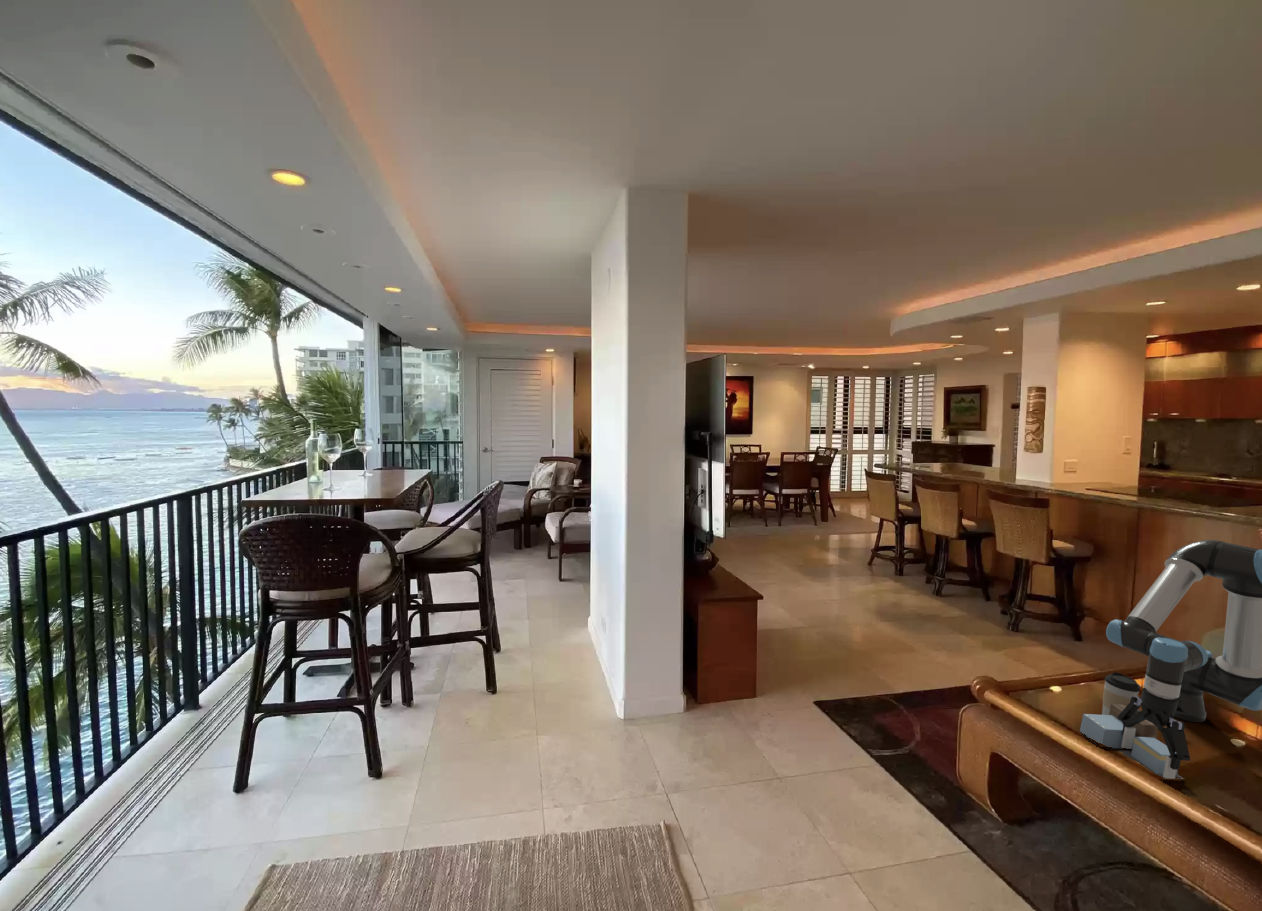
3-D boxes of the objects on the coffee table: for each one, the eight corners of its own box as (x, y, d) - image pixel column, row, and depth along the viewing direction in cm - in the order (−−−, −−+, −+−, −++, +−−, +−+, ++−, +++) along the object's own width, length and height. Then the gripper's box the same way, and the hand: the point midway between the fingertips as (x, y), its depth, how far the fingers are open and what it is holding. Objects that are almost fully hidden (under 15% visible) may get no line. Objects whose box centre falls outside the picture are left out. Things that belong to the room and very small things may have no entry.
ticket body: (1122, 733, 181) (1125, 715, 181) (1145, 749, 173) (1149, 731, 173) (1079, 731, 181) (1083, 713, 180) (1101, 747, 173) (1104, 729, 172)
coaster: (1145, 753, 171) (1145, 751, 171) (1184, 781, 160) (1184, 779, 159) (1106, 751, 171) (1107, 749, 171) (1143, 779, 159) (1144, 777, 159)
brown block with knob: (1120, 730, 183) (1127, 700, 182) (1152, 753, 172) (1159, 720, 171) (1105, 729, 183) (1112, 699, 181) (1137, 752, 172) (1143, 719, 170)
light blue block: (1150, 755, 169) (1153, 737, 169) (1177, 774, 161) (1181, 755, 161) (1130, 755, 169) (1134, 736, 168) (1157, 773, 161) (1161, 754, 160)
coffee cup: (1139, 729, 184) (1148, 686, 182) (1108, 724, 186) (1116, 682, 184) (1121, 714, 193) (1130, 673, 191) (1091, 709, 195) (1099, 668, 193)
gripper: (1110, 670, 174) (1098, 735, 177) (1191, 717, 150) (1176, 791, 152) (1133, 672, 174) (1121, 736, 177) (1218, 718, 150) (1202, 792, 153)
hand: (1146, 762), depth 165 cm, fingers open, 12 cm apart
